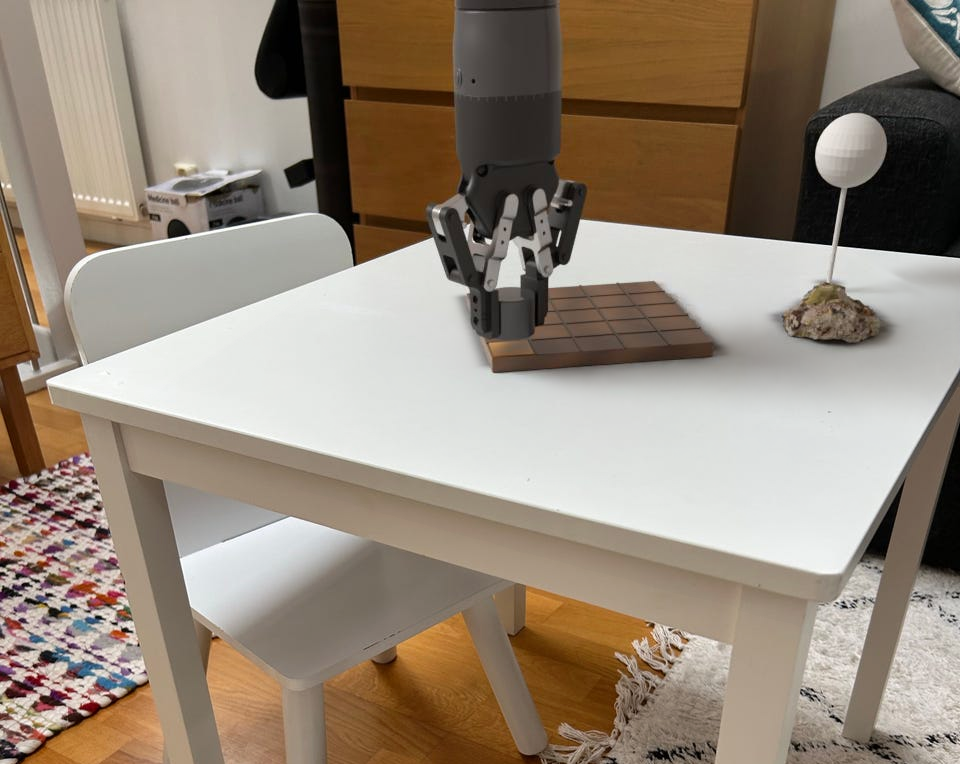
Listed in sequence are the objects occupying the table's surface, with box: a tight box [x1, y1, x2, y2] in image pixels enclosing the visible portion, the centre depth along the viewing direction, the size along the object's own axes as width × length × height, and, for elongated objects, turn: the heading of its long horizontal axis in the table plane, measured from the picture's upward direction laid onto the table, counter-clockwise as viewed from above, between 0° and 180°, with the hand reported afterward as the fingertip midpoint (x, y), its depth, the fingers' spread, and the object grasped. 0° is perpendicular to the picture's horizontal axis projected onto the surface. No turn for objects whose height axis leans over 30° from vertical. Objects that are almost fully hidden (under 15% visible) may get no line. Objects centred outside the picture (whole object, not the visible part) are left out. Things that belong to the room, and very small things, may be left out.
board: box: [466, 280, 714, 373], centre depth 86 cm, size 18×18×1 cm
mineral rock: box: [781, 281, 884, 344], centre depth 85 cm, size 11×4×8 cm
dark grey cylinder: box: [494, 286, 535, 340], centre depth 78 cm, size 4×4×3 cm
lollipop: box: [814, 112, 888, 284], centre depth 89 cm, size 6×6×15 cm
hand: (510, 329), depth 79 cm, fingers closed on dark grey cylinder, 4 cm apart
